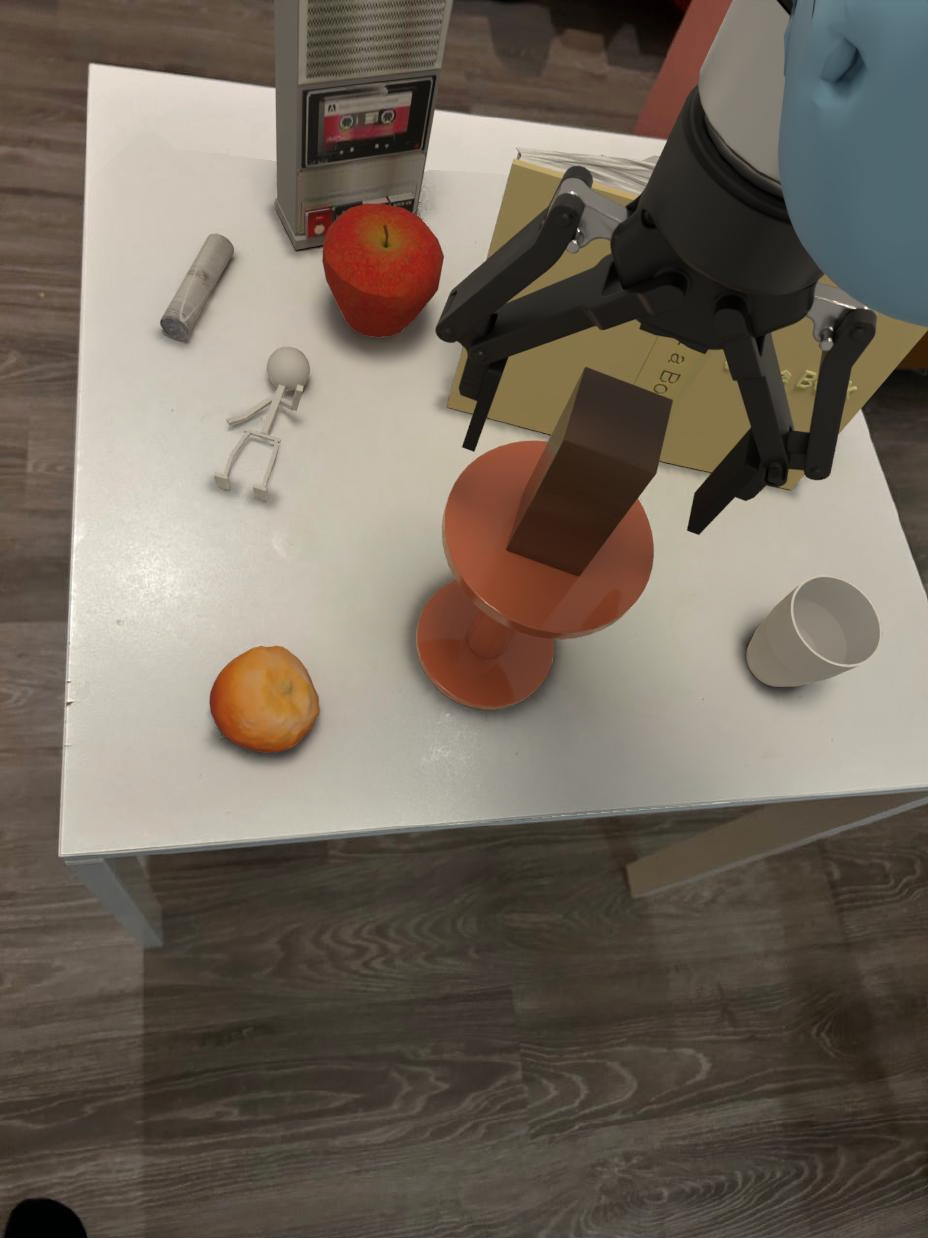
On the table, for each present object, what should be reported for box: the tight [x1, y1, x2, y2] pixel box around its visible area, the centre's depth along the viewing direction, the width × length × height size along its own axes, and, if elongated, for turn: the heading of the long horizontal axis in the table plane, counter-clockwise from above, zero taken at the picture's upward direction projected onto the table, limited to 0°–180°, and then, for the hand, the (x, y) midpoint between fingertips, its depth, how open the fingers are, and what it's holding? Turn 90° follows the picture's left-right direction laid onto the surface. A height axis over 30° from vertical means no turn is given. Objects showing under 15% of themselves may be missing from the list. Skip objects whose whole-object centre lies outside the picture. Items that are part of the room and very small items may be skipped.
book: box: [446, 146, 928, 491], centre depth 73 cm, size 36×8×24 cm, turn 82°
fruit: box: [208, 645, 321, 754], centre depth 62 cm, size 8×8×8 cm
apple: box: [322, 204, 445, 338], centre depth 76 cm, size 11×11×12 cm
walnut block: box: [506, 367, 673, 576], centre depth 47 cm, size 5×5×12 cm
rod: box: [159, 232, 235, 341], centre depth 78 cm, size 12×3×3 cm, turn 165°
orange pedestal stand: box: [415, 440, 655, 711], centre depth 62 cm, size 14×14×20 cm
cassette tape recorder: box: [273, 0, 454, 250], centre depth 75 cm, size 14×6×25 cm, turn 115°
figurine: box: [213, 346, 311, 502], centre depth 72 cm, size 6×6×15 cm
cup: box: [745, 574, 883, 688], centre depth 71 cm, size 8×8×10 cm
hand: (586, 473), depth 47 cm, fingers open, 13 cm apart
